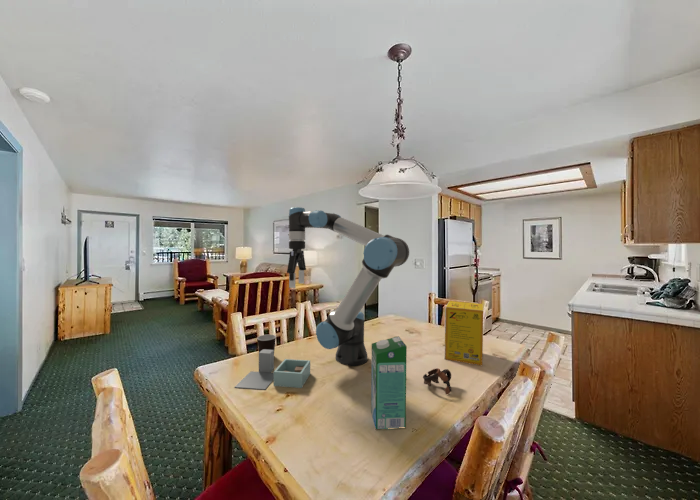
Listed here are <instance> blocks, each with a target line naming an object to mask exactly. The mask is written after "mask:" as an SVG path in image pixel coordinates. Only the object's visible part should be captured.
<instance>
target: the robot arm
mask: <svg viewBox="0 0 700 500" xmlns="http://www.w3.org/2000/svg"><path fill="white" fill-rule="evenodd" d="M288 212H289V213H288V234H287V235H288V240H289V241H288V248H289V249H290V250H289V258H288V263H287V270H286V274H288V280H289V281H288V288H289V289H291V288H292V289H295V288H296V273H295V272H296V269H297V266H298V284H302V285H303V284H305V271H306V270H307V268H306V261H305V260H306V259H305V251H304V249H306V241H305V240H306V229H308V228H310V229H311V228H312V229H313V228H314V229H328V230H330V231H333V232H334V233H337V234H340V235H341V236H342V237H346V238H348V239H350V240H352V241H353V242H356V243H358V244H360V245H363V246H364V249H363V259H362V260H361V264H362V268H361V270H360V271H359V272H358V274H357V276H356V278H355V279H354V281H353V282H352V284H351V285H350V287H349V289H348V290H347V292H346V294H345V296H344V297H343V298H342V300H341V301H340V302H339V305H338V307H337V308H336V309H333V310H332V311H330V313H329V314H328V316H327V317H326V319H325V320H324V321H321V322H320V323H318V325H316V328H315V334H316V335H315V336H316V339H317V341H318V343H319V344H320V345H321V346H322V347H323V348H324V349H327V350H333V349H336V353H335V361H336V362H337V363H339V364H342V365H346V366H348V367H356V366H362V365H364V364H366V363H367V362H368V358H369V357H368V351H367V349H366V346H365V315H364V312H362V309H363V307H364V306H365V304H366V303H367V302H368V300H369V298H370V297H371V295H372V294H373V292H374V291H375V289H376V288H377V286H378V285H379V283H380V281H381V280H382V279H387V278H388V277H389V275H390V274H391V272H392V271H393V269H394V268H396V267H399V266H402V265H404V264H405V263H406V262H407V261H408V259H409V257H410V247H409V246H408V244H407V242H406V241H405V240H403V239H401V238H399V237H396V236H395V237H394V236H392V235H390V234H385V235H384V234H382V233H379V232H376V231H374V230H372V229H369V228H368V227H365V226H363V225H361V224H358V223H356V222H353V221H351V220H349V219H347V218H344V217H342V216H341V215H339V214H338V213H334V212H333V213H330V212H325V211H324V210H317V209H316V210H308V211H306V209H305V208H304V207H301V206H299V207H298V206H297V207H295V206H294V207H290V209H289V210H288Z"/></svg>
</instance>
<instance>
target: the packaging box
mask: <svg viewBox="0 0 700 500" xmlns="http://www.w3.org/2000/svg"><path fill="white" fill-rule="evenodd" d="M444 313H445V315H444V360H446V361H452V362H458V363H464V364H469V363H470V365H475V364H477V366H481V365H482V366H483V354H484V353H483V351H484V350H483V349H484V348H483V347H484V346H483V345H484V344H483V342H484V340H483V339H484V303H474V302H466V301H465V302H464V301H456V300H455V301H454V300H449V301H448V303H447V304H446V306H445V311H444Z"/></svg>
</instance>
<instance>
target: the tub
mask: <svg viewBox="0 0 700 500" xmlns="http://www.w3.org/2000/svg"><path fill="white" fill-rule="evenodd" d="M296 366H304V368H303V369H302V371H301V372H300V373H299V372H295V368H296ZM284 371H289V372H284ZM273 373H274V380H273V386H274V387H280V388H281V387H283V388H284V387H285V388H297V389H302V388H303V386H304V385H305V383H306V382H307V380H308V378H309V376H310V375H311V360H309V359H307V360H305V359H290V358H285V359H284V360H283V361H281V363H280V364H279V365H278V366H277V367H276V368H275V369H274V370H273Z"/></svg>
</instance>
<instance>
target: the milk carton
mask: <svg viewBox="0 0 700 500" xmlns="http://www.w3.org/2000/svg"><path fill="white" fill-rule="evenodd" d="M407 352H408V350H407V345H406V344H405V343H404V341H403V340H402V338H401V337H400V336H399V335H398V336H394V337H390V338H387V339H381V340H378V341H376V342H371V365H370V366H371V371H370V372H371V376H370V377H371V379H370V380H371V382H370V383H371V386H370V387H371V388H370V391H371V392H370V394H371V395H370V396H371V397H370V403H371V404H370V413H371V417H372V420H373V425H374V427H375V428H376V429H387V430H389V429H388V428H399V427H406V425H407V423H406V422H407V358H408V357H407V356H408V355H407ZM406 428H407V427H406ZM376 429H375V430H376Z"/></svg>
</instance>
